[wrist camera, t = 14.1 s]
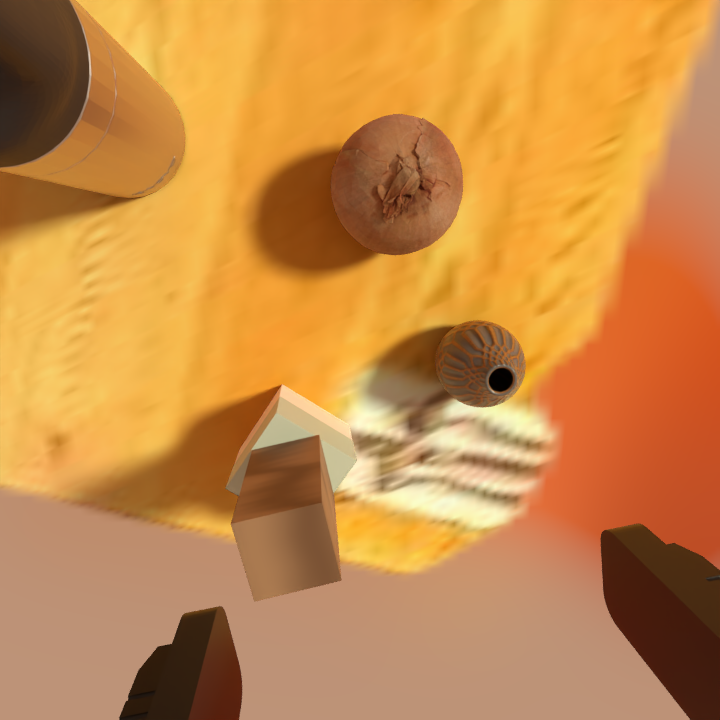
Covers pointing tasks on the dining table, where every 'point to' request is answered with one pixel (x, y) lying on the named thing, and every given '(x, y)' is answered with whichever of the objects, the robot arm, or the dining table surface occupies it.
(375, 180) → the onion
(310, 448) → the column
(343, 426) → the tower base
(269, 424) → the tower mid
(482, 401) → the vase
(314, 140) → the dining table surface
